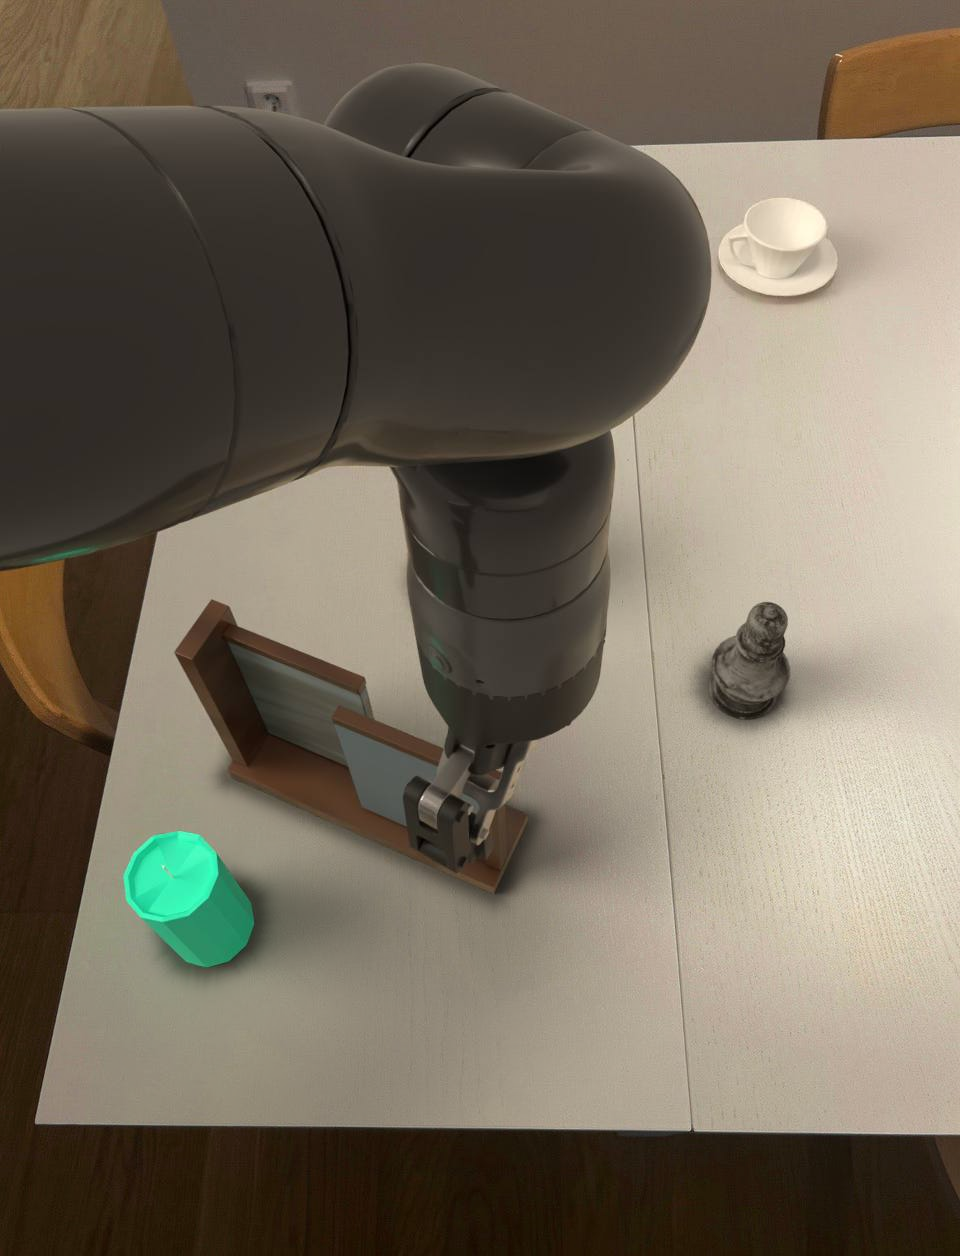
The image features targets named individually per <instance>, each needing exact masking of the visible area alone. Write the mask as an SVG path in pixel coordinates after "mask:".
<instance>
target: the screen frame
mask: <svg viewBox="0 0 960 1256" xmlns="http://www.w3.org/2000/svg"><path fill="white" fill-rule="evenodd" d="M173 654H174V655H175V657H176V660H178V663H179V665H180V666H181V668H182V670H183V672H184V674H185V676H186V677H187V679H188V681H189V683H190V684H191V687H192V689H193V690H194V692H195V694H196V696H197V698H198V699H199V702H200V703H201V705H202V706H203V708H204V710H205V712H206V714H207V716H208V717H209V718H208V719H210V721H211V723H212V725H213V727H214V728H215V731H216V732H217V734H218V736H219V738H220V740H221V741H222V743H223V745H224V748H225V749H226V751H227V753H228V755H229V757H230V758H231V760H232V761H231V763H230V764H229V766H228V767H227V769H226V771H227V772H228V774H229V775H230V777H231V779H233V780H236V781H238V782H240V783H243V784H245V785H247V786H249V787H251V788H254V789H256V790H258V791H261V792H263V793H265V794H267V795H269V796H271V797H274V798H276V799H278V800H281V801H283V802H285V803H287V804H289V805H292V806H295V807H296V808H299V809H301V810H303V811H305V812H307V813H310V814H312V815H315V816H316V817H319V818H321V819H324V820H325V821H328V822H330V823H332V824H335V825H337V826H339V827H342V828H344V829H346V830H348V831H351V832H352V833H355V834H357V835H359V836H362V837H364V838H366V839H368V840H371V841H373V842H375V843H377V844H379V845H382V846H384V847H386V848H388V849H391V850H394V851H396V852H398V853H400V854H403V855H404V856H407V857H409V858H411V859H414V860H416V861H418V862H421V863H422V864H425V865H427V866H429V867H431V868H433V869H436V870H439V871H440V872H443V873H445V874H448V875H450V876H451V877H454V878H455V879H456V878H457V879H458V880H461V881H463V882H465V883H467V884H470V885H473V886H474V887H477V888H479V889H481V890H484V891H486V892H487V893H490V894H493V895H494V894H495V893H496V890H497V888H498V886H499V884H500V882H501V880H502V878H503V876H504V873H505V871H506V869H507V867H508V865H509V862H510V860H511V859H512V856H513V854H514V852H515V850H516V848H517V845H518V843H519V841H520V839H521V837H522V834H523V833H524V831H525V828H526V826H527V824H528V813H526V812H524V811H521V810H519V809H517V808H514V807H512V806H510V805H507V804H505V818H506V846H507V857H506V860H505V862H504V864H503V866H502V868H501V870H498V869H496V868H494V867H491V866H489V865H487V864H485V861H483V860H480V859H478V858H477V859H476V861H475V862H474V864H471V863H469V862H468V861H467V863H466V865H465V867H464V868H461V870H460V871H459V872H458V873H457V874H456V873H454V872H452V871H451V870H449V869H447V868H446V867H444V866H442V865H440V864H439V863H437V862H435V861H433V860H432V859H430V858H428V857H427V856H425V855H423V854H421V853H420V852H418V851H416V850H414V849H413V848H411V847H410V844H409V837H408V831H407V827H406V826H404V825H402V824H399V823H397V822H395V821H392V820H390V819H388V818H386V817H383V816H381V815H379V814H376V813H374V812H372V811H370V810H367V809H365V808H363V807H362V806H361V803H360V800H359V797H358V794H357V791H356V788H355V785H354V782H353V779H352V776H351V773H350V770H349V767H348V764H347V761H346V758H345V755H344V751H343V748H342V745H341V742H340V739H339V736H338V733H337V730H336V727H335V724H334V723H333V721H332V716H333V714H334V712H335V711H336V709H337V707H338V706H342V707H344V708H347V709H349V710H352V711H354V712H357V713H359V714H361V715H364V716H366V717H369V718H371V719H374V720H376V719H375V716H374V711H373V707H372V704H371V701H370V696H369V692H368V689H367V680H366V676H364V675H362V674H361V675H360V674H359V673H356V672H353V671H351V670H348V669H345V668H344V667H341V666H338V665H336V664H333V663H331V662H328V661H325V660H323V659H321V658H319V657H316V656H313V655H311V654H308V653H306V652H303V651H301V650H298V649H296V648H293V647H291V646H288V645H286V644H283V643H281V642H279V641H276V640H274V639H271V638H269V637H266V636H265V635H261V634H258V633H256V632H254V631H251V630H248V629H246V628H243V627H241V626H238V623H237V621H236V619H235V616H234V614H233V611H232V609H231V607H230V605H228V604H225V603H222V602H220V601H218V600H215V599H213V598H211V599H210V600H209V602H208V603H207V605H206V606H205V607H204V609H203V610H202V612H201V613H200V614H199V616H198V618H197V619H196V620H195V622H194V623H193V624H192V626H191V627H190V629H189V630H188V631H187V633H186V634H185V636H184V637H183V639H182V640H181V642H179V644H178V646H177V647H176V648H175V650H174V651H173Z"/></svg>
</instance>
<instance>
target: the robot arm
mask: <svg viewBox="0 0 960 1256" xmlns="http://www.w3.org/2000/svg"><path fill="white" fill-rule="evenodd" d="M712 272H713V271H712V252H711V245H710V239H709V235H708V231H707V227H706V225H705V222H704V220H703V216H702V214H701V211H700V209H699V207H698V205H697V203H696V201H695V200H694V197H692V195H691V193H690V192H689V190H688V189H687V188H686V187H685V185H684V184H683V183H682V181H681V180H680V179H679V178H678V177H677V176H676V175H675V174H674V173H673V172H672V171H671V170H670V169H669V168H667V167H666V166H665V165H663V164H662V163H661V162H660V161H658V160H657V159H655V158H653V157H651V156H650V155H648V154H646V153H645V152H643V151H641V150H639V149H637V148H635V147H633V146H631V145H629V144H626V143H625V142H622V141H621V140H618V139H616V138H614V137H611V136H609V135H606V134H604V133H602V132H599V131H597V130H595V129H592V128H590V127H588V126H586V125H583V124H582V123H579V122H577V121H575V120H572V119H570V118H568V117H566V116H564V115H561V114H559V113H557V112H554V111H552V110H550V109H548V108H545V107H544V106H541V105H539V104H538V103H537V104H536V103H534V102H532V101H530V100H527V99H525V98H523V97H521V96H519V95H516V94H515V93H512V92H510V91H508V90H506V89H503V88H501V87H499V86H497V85H495V84H492V83H490V82H488V81H486V80H484V79H481V78H479V77H476V76H474V75H471V74H469V73H466V72H464V71H461V70H459V69H456V68H453V67H448V66H443V65H438V64H434V63H428V62H427V63H426V62H415V63H414V62H413V63H405V64H396V65H392V66H389V67H385V68H383V69H381V70H378V71H376V72H374V73H372V74H371V75H369V76H367V77H365V78H364V79H362V80H361V81H360V82H359V83H357V84H356V85H355V86H353V87H352V88H351V89H349V90H348V91H347V92H346V93H345V94H344V95H343V97H341V98H340V99H339V100H338V102H337V103H336V105H335V106H334V107H333V108H332V110H331V111H330V113H329V114H328V116H327V117H326V119H325V121H324V122H323V124H321V123H319V122H315V121H313V120H311V119H307V118H304V117H302V116H297V115H293V114H290V113H284V112H279V111H273V110H268V109H263V108H253V107H245V106H232V105H143V106H142V105H135V106H134V105H133V106H129V105H128V106H73V107H70V106H69V107H65V106H64V107H33V108H32V107H31V108H29V107H28V108H27V107H26V108H0V572H7V571H14V570H19V569H24V568H31V567H35V566H39V565H45V564H49V563H54V562H59V561H64V560H68V559H73V558H78V557H83V556H87V555H90V554H94V553H97V552H100V551H105V550H108V549H110V548H114V547H118V546H122V545H125V544H129V543H132V542H134V541H137V540H140V539H143V538H145V537H148V536H151V535H153V534H154V535H155V534H156V533H159V532H162V531H165V530H168V529H170V528H173V527H175V526H177V525H180V524H183V523H185V522H189V521H191V520H194V519H197V518H199V517H202V516H204V515H205V516H206V515H207V514H210V513H213V512H217V511H218V510H221V509H223V508H226V507H229V506H232V505H234V504H237V503H240V502H242V501H245V500H248V499H251V498H253V497H256V496H259V495H262V494H264V493H266V492H269V491H270V492H271V491H272V490H274V489H275V490H276V489H277V488H281V487H283V486H285V485H288V484H290V483H292V482H295V481H297V480H300V479H303V478H305V477H308V476H311V475H313V474H316V473H318V472H320V471H323V470H325V469H327V468H334V467H335V468H336V467H378V468H379V467H380V468H382V467H383V468H384V467H385V468H389V469H390V471H391V472H392V475H393V476H394V479H395V480H396V483H397V485H396V486H397V491H398V492H397V493H398V498H399V508H400V515H401V520H402V526H403V531H404V538H405V544H406V550H407V560H406V589H407V590H406V591H407V598H408V603H409V608H410V614H411V619H412V625H413V630H414V636H415V643H416V649H417V653H418V660H419V665H420V670H421V677H422V681H423V686H424V687H425V690H426V693H427V695H428V697H429V699H430V701H431V702H432V705H433V706H434V708H435V709H436V710H437V712H438V713H439V715H440V717H441V718H442V720H444V722H445V725H447V733H446V737H445V740H444V747H443V748H444V750H443V753H442V756H441V759H440V762H439V765H438V768H437V776H436V778H435V779H434V780H433V782H430V781H428V780H425V779H423V778H421V777H419V776H415V777H414V778H413V779H412V780H411V781H410V782H409V783H408V784H407V785H406V787H405V790H404V794H403V805H404V812H405V818H406V824H407V831H408V837H409V844H410V847H411V848H413V849H414V850H416V851H418V852H420V853H421V854H423V855H425V856H427V857H428V858H430V859H432V860H433V861H435V862H437V863H439V864H440V865H442V866H444V867H446V868H447V869H449V870H451V871H452V872H454V873H456V874H457V873H458V872H459V871H460V870H461V868H464V867H465V865H466V863H467V861H468V862H469V863H471V864H474V862H475V861H476V859H477V858H478V859H480V860H483V861H486V859H487V858H488V856H489V855H490V853H491V851H492V850H493V839H492V828H491V822H492V820H493V817H494V814H495V811H496V810H498V809H500V808H501V807H502V806H503V805H504V804H505V805H506V803H507V802H508V801H509V800H510V799H511V798H512V797H513V795H514V794H515V790H516V787H517V785H518V782H519V780H520V776H521V774H522V771H523V769H524V765H525V763H526V760H527V758H528V757H529V756H530V755H531V754H532V753H533V752H534V751H535V750H536V749H537V746H538V744H539V742H540V739H543V738H547V737H549V736H551V735H553V734H555V733H558V732H559V731H561V730H562V729H564V728H566V727H570V726H571V725H572V722H574V721H575V720H576V719H577V718H578V717H579V716H580V715H581V714H582V713H583V712H584V710H586V708H588V705H589V704H590V703H591V700H592V699H593V697H594V695H595V693H596V690H597V688H598V685H599V681H600V678H601V671H602V664H603V654H604V645H605V643H606V636H607V624H608V610H609V602H610V593H611V579H612V577H611V576H612V573H611V562H610V561H611V560H610V553H609V533H610V525H611V524H610V523H611V513H612V504H613V498H614V489H615V481H616V480H615V479H616V453H615V444H614V438H613V434H612V430H613V429H615V428H616V427H619V426H620V425H622V424H623V423H625V422H626V421H628V420H629V419H631V417H633V416H635V415H636V414H637V413H638V412H639V411H641V410H642V409H643V408H645V406H647V405H648V404H649V403H650V402H651V401H652V400H654V398H656V397H657V396H658V395H659V394H660V392H661V391H662V390H663V389H664V388H665V387H666V386H667V385H668V384H669V383H670V381H671V379H673V377H674V376H675V375H676V373H677V372H678V371H679V369H680V368H681V367H682V365H683V363H684V362H685V360H686V359H687V357H688V355H689V354H690V352H691V350H692V349H693V346H694V345H695V343H696V340H697V338H698V335H699V333H700V330H701V328H702V326H703V323H704V319H705V316H706V314H707V310H708V306H709V303H710V296H711V289H712V277H713V275H712V274H713V273H712ZM499 769H503V770H502V771H501V772H502V774H501V777H500V780H497V779H495V778H493V777H491V776H490V775H488V774H487V773H490V772H492V771H495V770H497V771H498V770H499ZM463 793H464V794H466V795H467V796H469V797H471V798H473V799H475V800H476V801H477V802H478V804H479V809H478V812H477V814H475V813H473V812H472V810H473V805H471V804H469V803H468V802H466V801H464V800H462V799H461V798H462V795H463Z"/></svg>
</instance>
